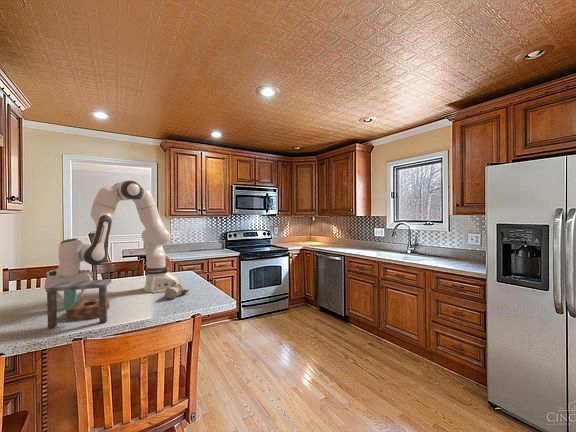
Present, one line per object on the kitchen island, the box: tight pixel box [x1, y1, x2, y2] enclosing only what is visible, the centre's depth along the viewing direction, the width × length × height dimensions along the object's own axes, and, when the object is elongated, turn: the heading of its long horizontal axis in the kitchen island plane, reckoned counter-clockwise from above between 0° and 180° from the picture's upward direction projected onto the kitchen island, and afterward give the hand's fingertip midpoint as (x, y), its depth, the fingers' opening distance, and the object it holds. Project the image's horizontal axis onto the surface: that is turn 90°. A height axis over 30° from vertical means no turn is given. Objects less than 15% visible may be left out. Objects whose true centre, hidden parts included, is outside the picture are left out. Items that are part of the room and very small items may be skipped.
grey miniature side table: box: [45, 278, 112, 329], centre depth 137 cm, size 22×22×18 cm
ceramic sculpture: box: [164, 282, 190, 300], centre depth 169 cm, size 11×9×15 cm
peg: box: [63, 290, 77, 310], centre depth 149 cm, size 4×4×11 cm
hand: (69, 297), depth 149 cm, fingers open, 8 cm apart
